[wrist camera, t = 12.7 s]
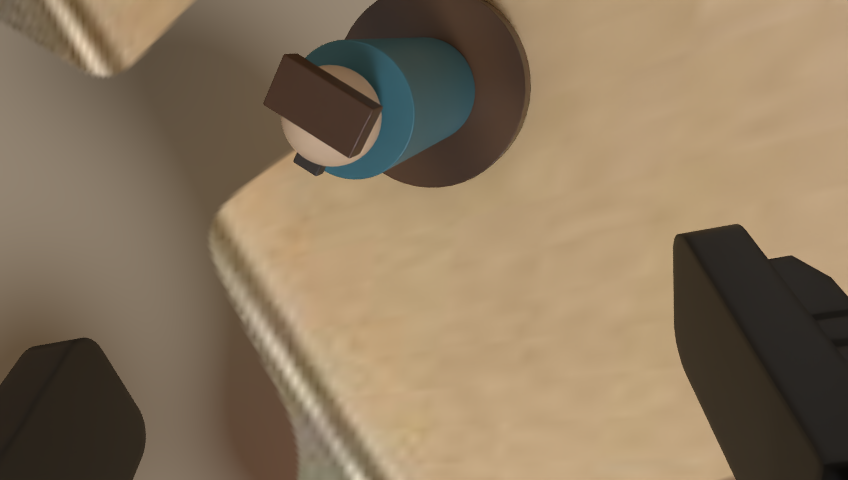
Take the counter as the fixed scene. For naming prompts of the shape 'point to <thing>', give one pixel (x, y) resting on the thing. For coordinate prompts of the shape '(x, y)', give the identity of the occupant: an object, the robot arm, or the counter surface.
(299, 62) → the teal pump bottle
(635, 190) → the counter surface
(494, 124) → the stand
